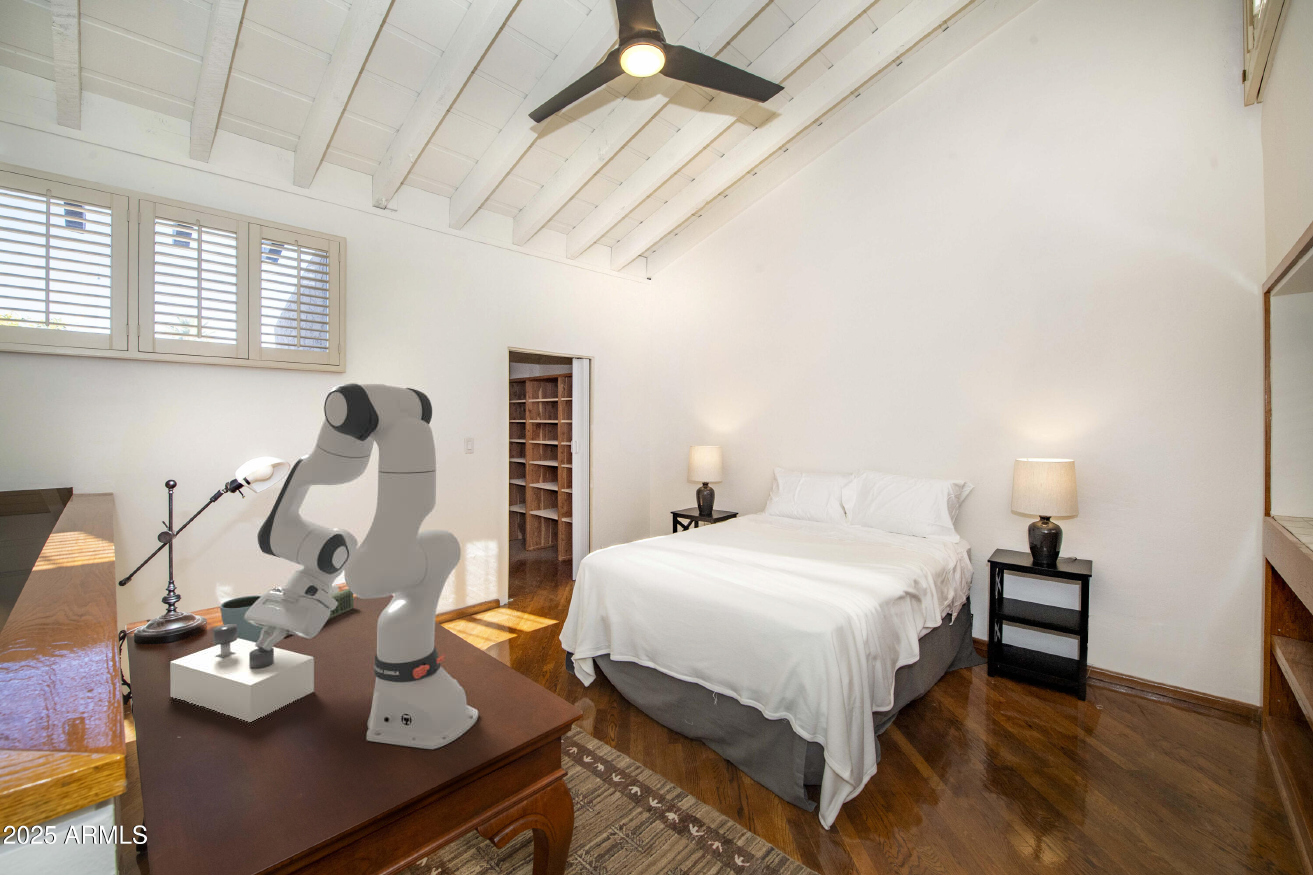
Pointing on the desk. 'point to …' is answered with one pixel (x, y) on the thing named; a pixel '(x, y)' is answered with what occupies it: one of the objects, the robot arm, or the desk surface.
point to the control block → (241, 680)
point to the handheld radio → (342, 603)
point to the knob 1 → (225, 638)
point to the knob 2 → (261, 658)
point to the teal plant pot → (241, 617)
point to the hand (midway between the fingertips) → (261, 648)
